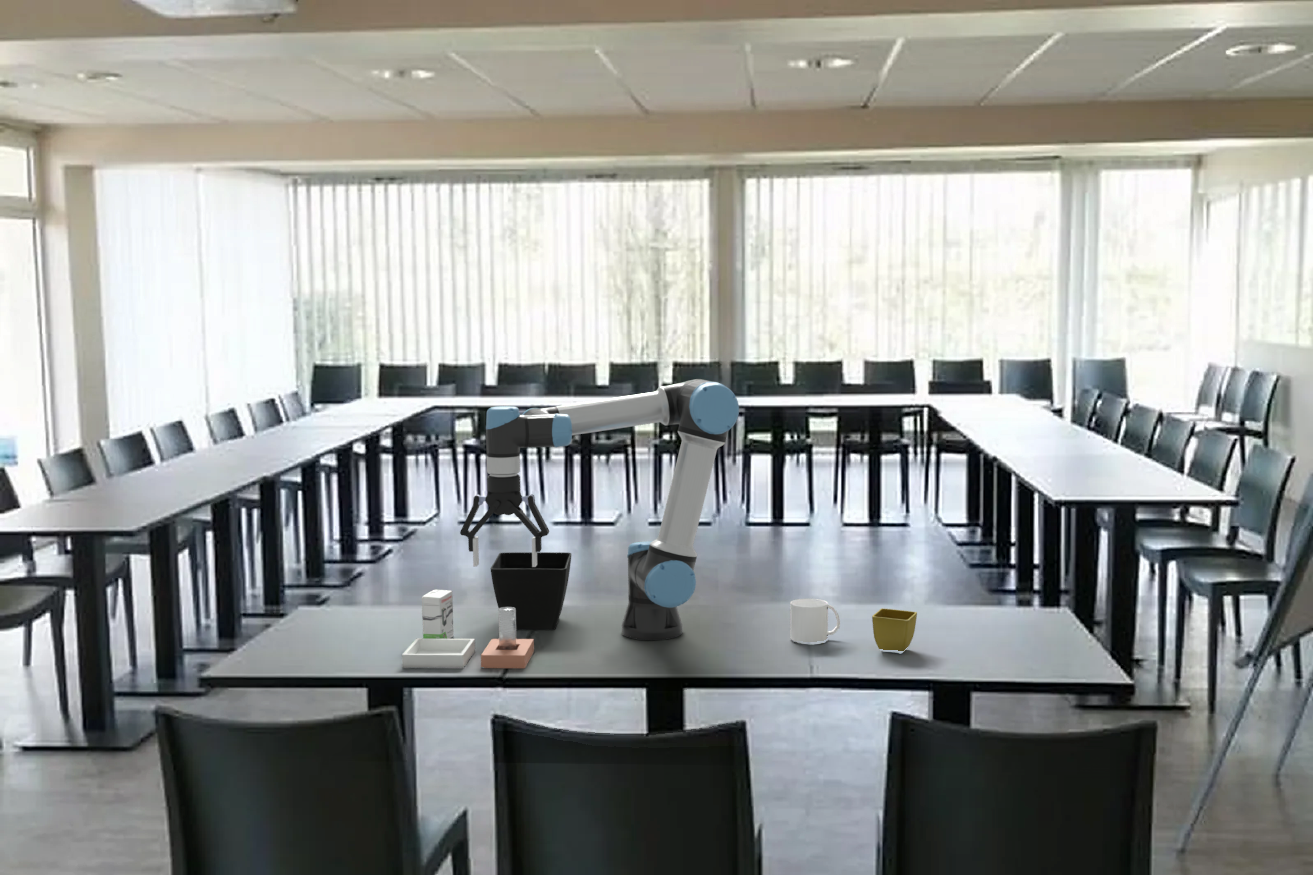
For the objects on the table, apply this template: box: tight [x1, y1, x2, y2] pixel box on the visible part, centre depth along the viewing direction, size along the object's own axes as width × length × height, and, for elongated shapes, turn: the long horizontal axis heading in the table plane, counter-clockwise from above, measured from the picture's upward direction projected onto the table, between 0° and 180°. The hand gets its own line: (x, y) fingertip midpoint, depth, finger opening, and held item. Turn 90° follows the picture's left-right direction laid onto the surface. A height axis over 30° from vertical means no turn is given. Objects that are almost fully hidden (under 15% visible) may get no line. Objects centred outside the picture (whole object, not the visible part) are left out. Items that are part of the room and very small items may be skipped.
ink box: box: [421, 589, 454, 639], centre depth 329 cm, size 9×5×12 cm, turn 167°
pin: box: [497, 607, 517, 650], centre depth 312 cm, size 4×4×12 cm
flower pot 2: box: [871, 608, 918, 652], centre depth 316 cm, size 9×9×9 cm
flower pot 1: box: [490, 551, 572, 631], centre depth 344 cm, size 19×19×17 cm
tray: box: [401, 637, 476, 669], centre depth 313 cm, size 14×14×3 cm
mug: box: [789, 598, 841, 642], centre depth 326 cm, size 12×9×9 cm
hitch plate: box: [480, 638, 535, 669], centre depth 312 cm, size 10×14×3 cm
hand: (505, 565), depth 310 cm, fingers open, 13 cm apart
